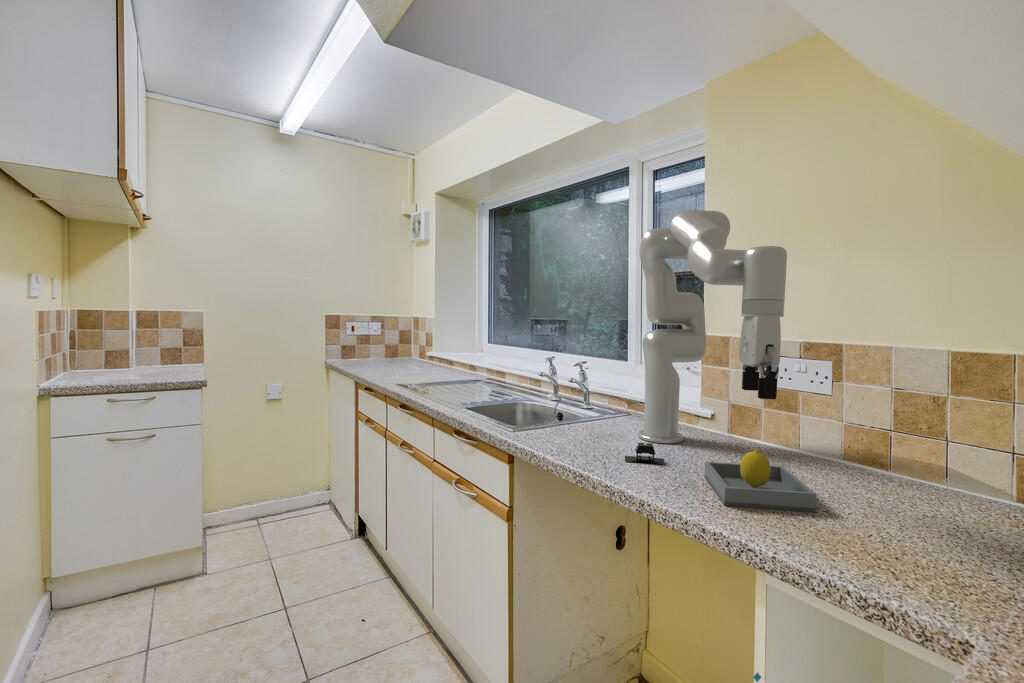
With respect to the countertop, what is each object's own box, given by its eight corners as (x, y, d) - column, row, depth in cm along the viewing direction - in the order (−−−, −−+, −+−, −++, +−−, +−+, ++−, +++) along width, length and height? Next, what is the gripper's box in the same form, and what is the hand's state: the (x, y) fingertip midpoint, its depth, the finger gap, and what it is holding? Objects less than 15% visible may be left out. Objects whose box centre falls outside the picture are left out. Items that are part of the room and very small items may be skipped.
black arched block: (669, 460, 121) (670, 442, 121) (673, 469, 114) (673, 450, 113) (618, 456, 123) (619, 438, 123) (619, 465, 116) (619, 446, 116)
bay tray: (704, 476, 107) (705, 461, 107) (781, 481, 105) (782, 466, 105) (724, 505, 92) (725, 487, 91) (815, 512, 89) (816, 493, 89)
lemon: (775, 490, 98) (777, 451, 97) (758, 495, 95) (760, 455, 94) (750, 481, 102) (751, 444, 102) (733, 486, 100) (735, 448, 99)
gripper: (730, 309, 105) (726, 386, 106) (757, 309, 88) (752, 401, 89) (766, 309, 104) (762, 388, 105) (801, 310, 87) (796, 403, 88)
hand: (758, 394), depth 97 cm, fingers open, 9 cm apart
